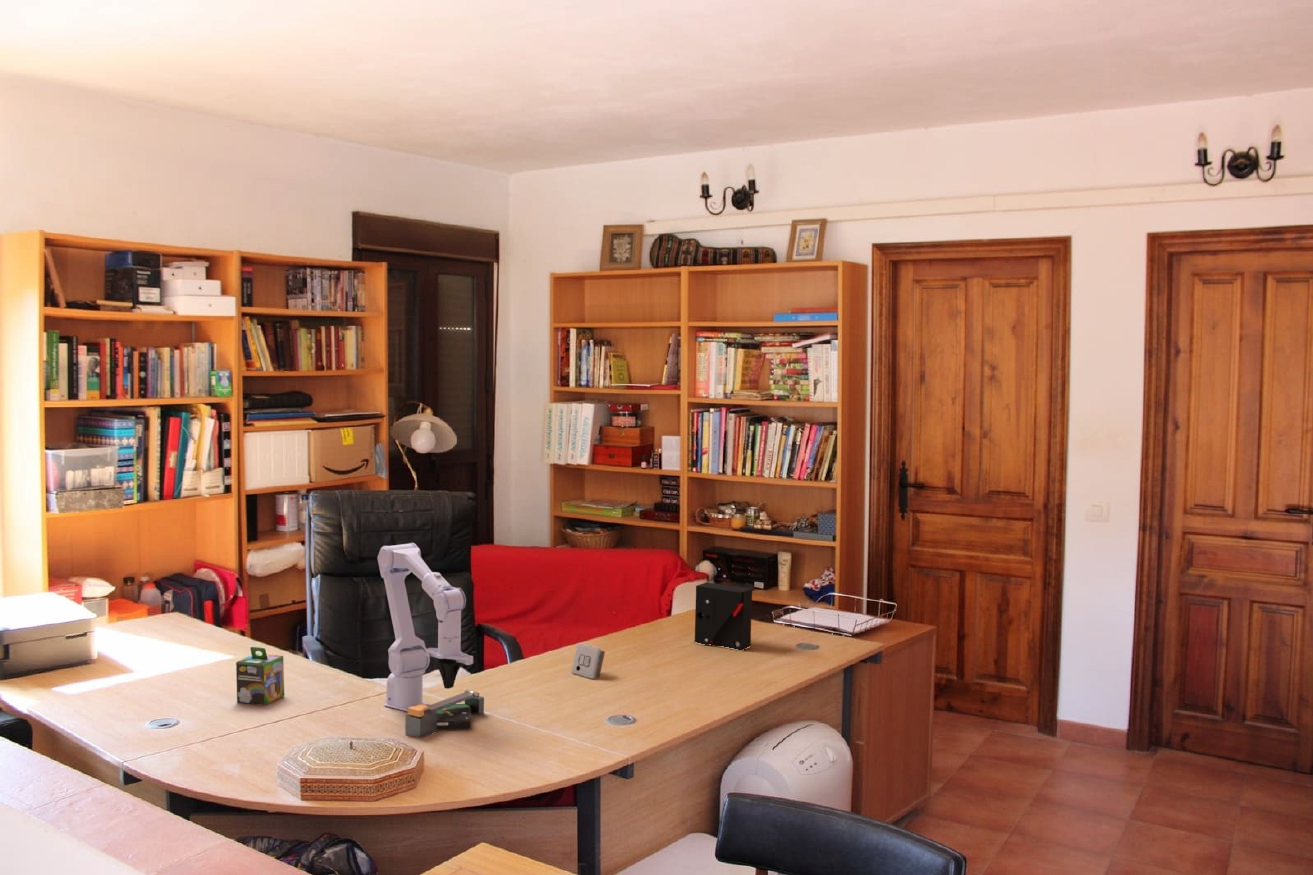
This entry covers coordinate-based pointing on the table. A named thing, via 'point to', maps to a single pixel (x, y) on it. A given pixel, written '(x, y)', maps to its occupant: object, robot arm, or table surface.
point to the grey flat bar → (452, 701)
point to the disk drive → (454, 717)
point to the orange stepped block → (417, 710)
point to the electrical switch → (588, 661)
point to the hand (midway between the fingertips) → (448, 687)
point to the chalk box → (260, 678)
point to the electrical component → (723, 615)
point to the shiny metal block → (429, 720)
